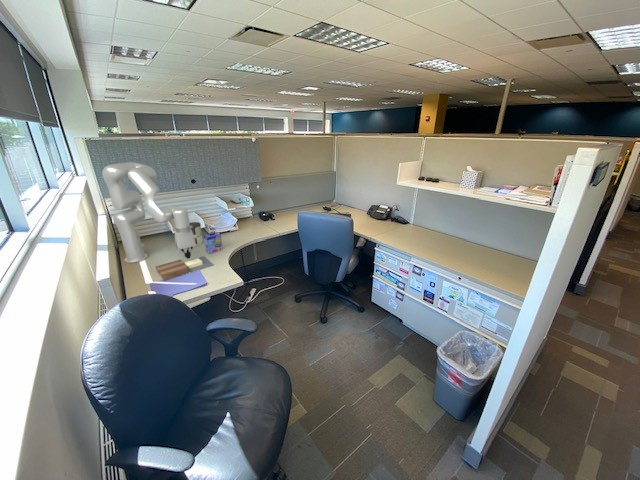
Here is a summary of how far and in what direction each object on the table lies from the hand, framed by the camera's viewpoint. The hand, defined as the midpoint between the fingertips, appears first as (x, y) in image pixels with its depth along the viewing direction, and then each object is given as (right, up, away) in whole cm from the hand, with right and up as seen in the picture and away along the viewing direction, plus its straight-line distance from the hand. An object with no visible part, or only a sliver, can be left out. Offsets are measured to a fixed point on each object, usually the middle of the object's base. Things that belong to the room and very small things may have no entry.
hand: (188, 257), depth 166 cm
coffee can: (-11, +9, +36) cm, 39 cm away
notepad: (+2, -5, +3) cm, 6 cm away
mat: (+4, -4, +5) cm, 7 cm away
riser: (-7, -8, -4) cm, 11 cm away
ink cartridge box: (+7, +3, +23) cm, 24 cm away
